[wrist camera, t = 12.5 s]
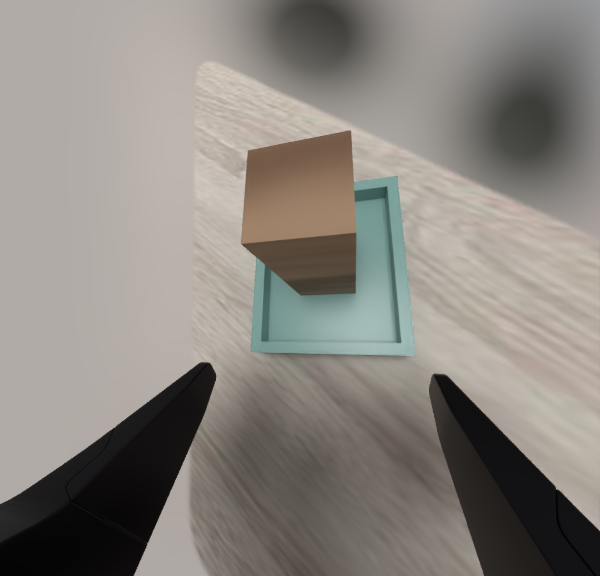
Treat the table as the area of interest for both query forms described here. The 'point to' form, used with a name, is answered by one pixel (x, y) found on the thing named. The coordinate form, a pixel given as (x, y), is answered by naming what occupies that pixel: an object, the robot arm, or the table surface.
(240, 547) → the table surface
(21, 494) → the robot arm
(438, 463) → the table surface
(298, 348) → the tray
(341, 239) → the tall brown wood pillar
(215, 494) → the table surface
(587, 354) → the table surface
